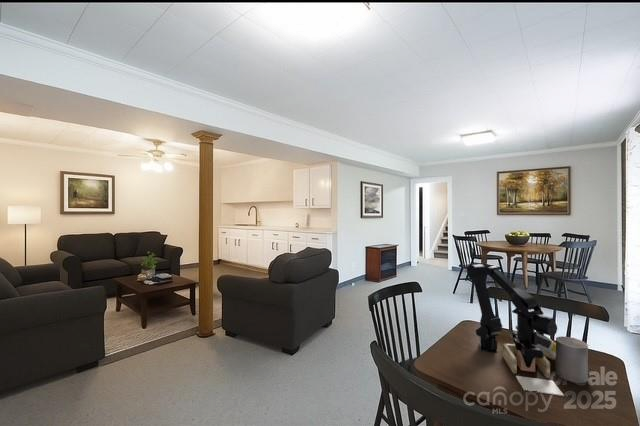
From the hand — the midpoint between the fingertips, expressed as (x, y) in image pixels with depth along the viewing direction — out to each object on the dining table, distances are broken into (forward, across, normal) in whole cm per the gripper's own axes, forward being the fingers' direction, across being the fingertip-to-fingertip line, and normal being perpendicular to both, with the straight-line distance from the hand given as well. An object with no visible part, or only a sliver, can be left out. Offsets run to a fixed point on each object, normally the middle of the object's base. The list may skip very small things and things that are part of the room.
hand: (525, 364), depth 122 cm
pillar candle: (+2, -2, -15) cm, 15 cm away
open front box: (+2, 0, 0) cm, 2 cm away
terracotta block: (+2, 0, 0) cm, 2 cm away
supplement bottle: (-1, +13, -15) cm, 20 cm away
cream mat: (+2, -13, 0) cm, 13 cm away
